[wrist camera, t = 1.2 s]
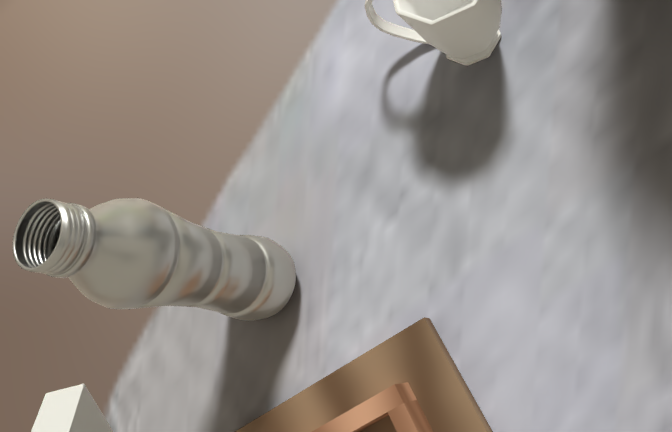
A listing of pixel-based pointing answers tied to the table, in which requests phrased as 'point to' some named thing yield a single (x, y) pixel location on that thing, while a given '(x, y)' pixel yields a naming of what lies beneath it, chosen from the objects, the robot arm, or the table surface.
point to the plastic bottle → (153, 258)
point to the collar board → (384, 393)
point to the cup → (447, 26)
